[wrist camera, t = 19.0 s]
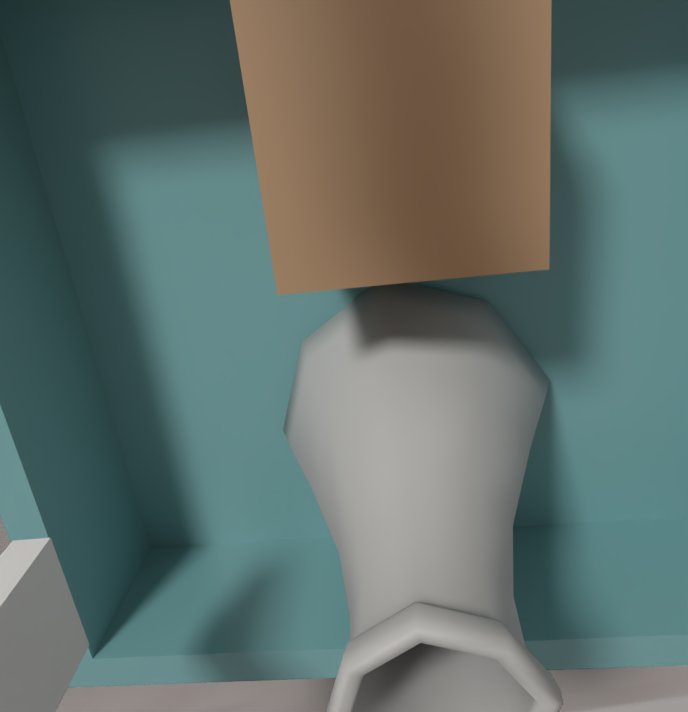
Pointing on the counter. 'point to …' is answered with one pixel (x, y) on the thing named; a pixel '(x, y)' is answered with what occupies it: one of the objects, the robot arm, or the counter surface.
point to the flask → (423, 497)
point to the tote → (294, 324)
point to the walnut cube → (399, 137)
